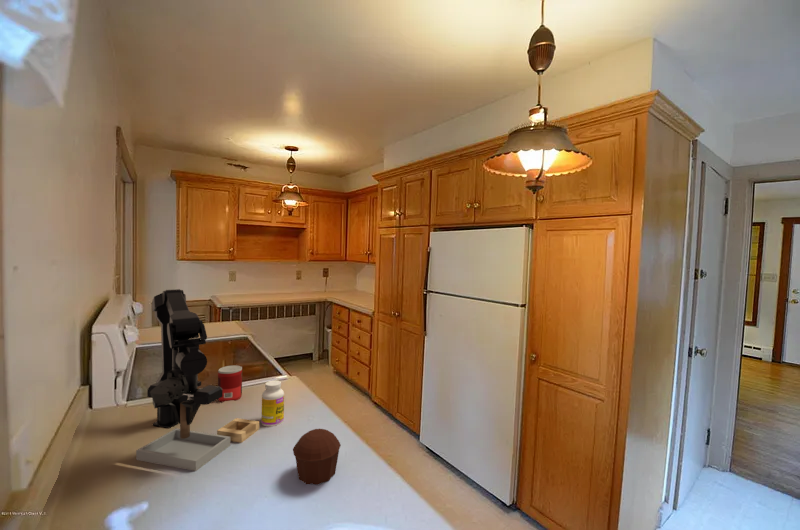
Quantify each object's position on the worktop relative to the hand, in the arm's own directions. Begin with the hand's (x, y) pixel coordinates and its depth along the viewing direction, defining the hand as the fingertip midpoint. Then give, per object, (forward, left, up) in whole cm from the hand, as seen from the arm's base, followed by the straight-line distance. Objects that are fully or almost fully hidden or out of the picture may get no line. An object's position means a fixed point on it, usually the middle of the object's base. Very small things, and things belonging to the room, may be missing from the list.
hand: (185, 423), depth 94 cm
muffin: (+37, +1, -8) cm, 38 cm away
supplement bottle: (+12, +21, -8) cm, 26 cm away
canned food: (-14, +34, -8) cm, 38 cm away
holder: (+7, +12, -8) cm, 16 cm away
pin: (0, 0, -3) cm, 3 cm away
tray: (0, 0, -8) cm, 8 cm away
